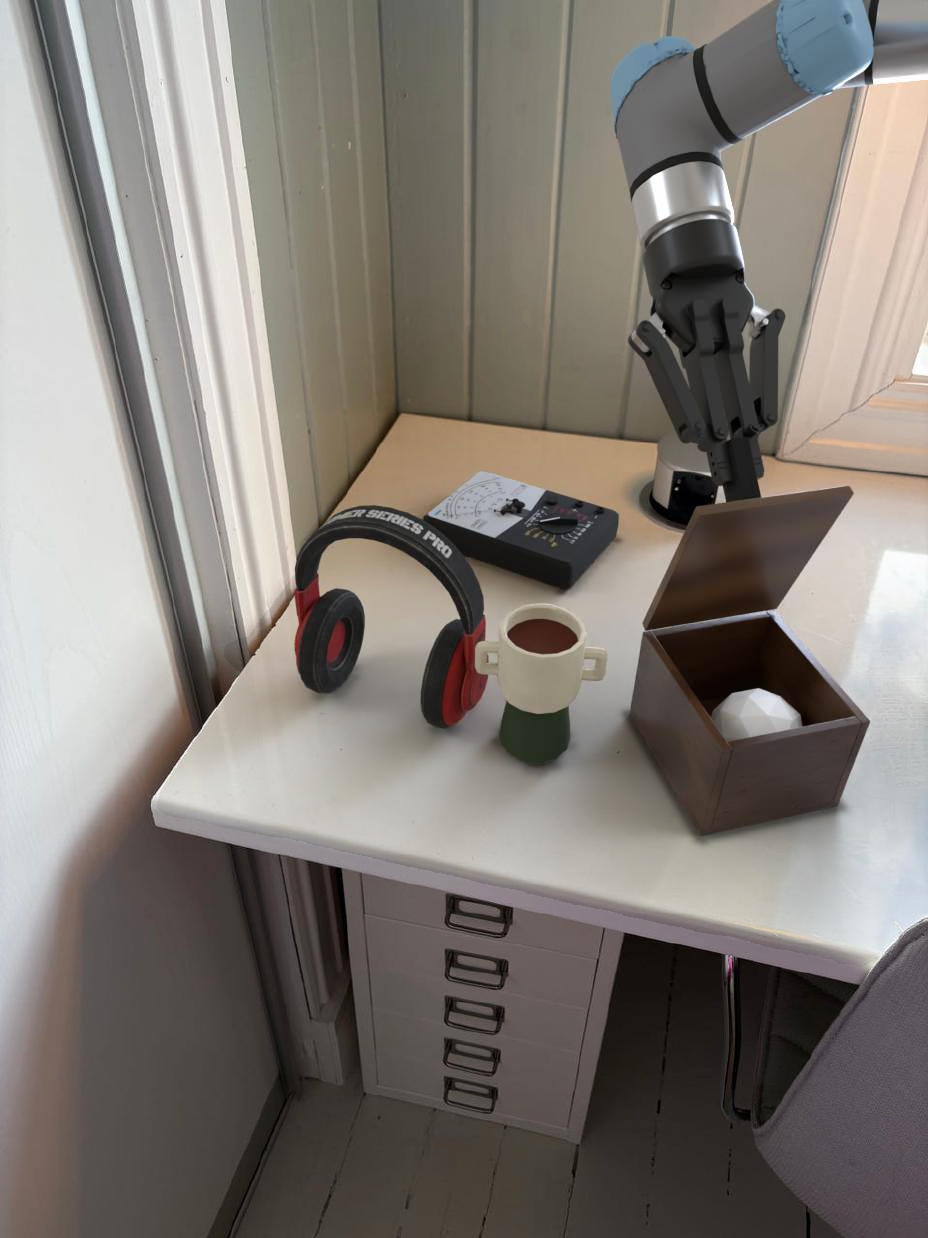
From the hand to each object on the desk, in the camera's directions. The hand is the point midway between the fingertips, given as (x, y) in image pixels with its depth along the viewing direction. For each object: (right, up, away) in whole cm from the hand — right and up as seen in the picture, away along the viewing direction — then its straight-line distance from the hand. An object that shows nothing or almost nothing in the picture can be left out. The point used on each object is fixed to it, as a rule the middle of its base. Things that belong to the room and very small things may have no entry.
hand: (748, 523), depth 72 cm
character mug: (-16, -19, +11) cm, 27 cm away
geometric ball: (+2, -20, +8) cm, 22 cm away
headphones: (-29, -15, +15) cm, 36 cm away
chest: (+1, -20, +9) cm, 22 cm away
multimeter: (-16, +2, +37) cm, 40 cm away
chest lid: (0, -3, +2) cm, 4 cm away
